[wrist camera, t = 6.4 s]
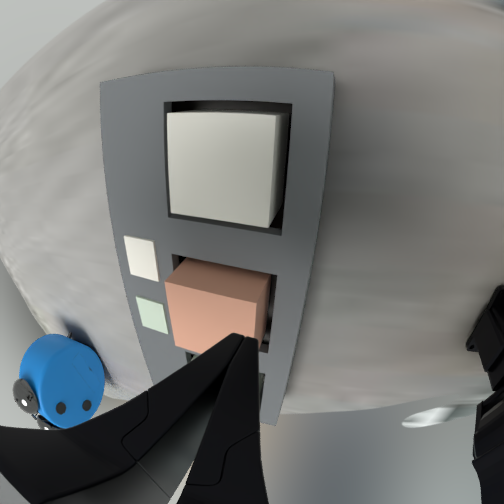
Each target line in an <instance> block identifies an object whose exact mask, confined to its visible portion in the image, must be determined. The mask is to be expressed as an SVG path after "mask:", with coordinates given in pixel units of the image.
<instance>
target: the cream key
mask: <svg viewBox="0 0 504 504" xmlns="http://www.w3.org/2000/svg"><path fill="white" fill-rule="evenodd" d="M288 124H289V113H278V112H265V111H248V110H189V111H181V112H173V113H167V140H168V170H169V190H170V206H171V213H174V214H181V215H188V216H195V217H202V218H208V219H215V220H221V221H227V222H234V223H240V224H246V225H252V226H259V227H265V228H268V227H269V226H270V224H271V222H272V221H273V219H274V217H275V216H276V214H277V212H278V211H279V209H280V207H281V206H282V199H283V188H284V176H285V164H286V151H287V138H288Z"/></svg>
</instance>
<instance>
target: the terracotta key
mask: <svg viewBox="0 0 504 504" xmlns="http://www.w3.org/2000/svg"><path fill="white" fill-rule="evenodd" d="M271 275H272V274H269V273H264V272H259V271H254V270H249V269H244V268H239V267H234V266H229V265H224V264H219V263H214V262H209V261H204V260H199V259H195V258H190V257H187V258H186V259H185V260H184V261H183V262H182V263H181V264H180V265H179V266H178V267H177V268H176V269H175V270H174V272H173V273H172V274H171V275H170V276H169V277H168V278H167V279H166V280H165V281H164V282H165V289H166V295H167V301H168V307H169V313H170V319H171V325H172V330H173V336H174V341H175V346H178V347H181V348H184V349H188V350H191V351H194V352H197V353H200V354H202V353H203V352H205V351H206V350H208V349H209V348H211V347H212V346H214V345H215V344H216V343H218V342H219V341H221V340H222V339H224V338H225V337H226V336H228V335H229V334H231V333H238V334H241V335H244V336H245V337H246V336H249V337H252V338H256V339H258V341H259V348H260V345H261V343H262V340H263V337H264V335H265V332H266V324H267V315H268V305H269V295H270V285H271Z"/></svg>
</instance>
